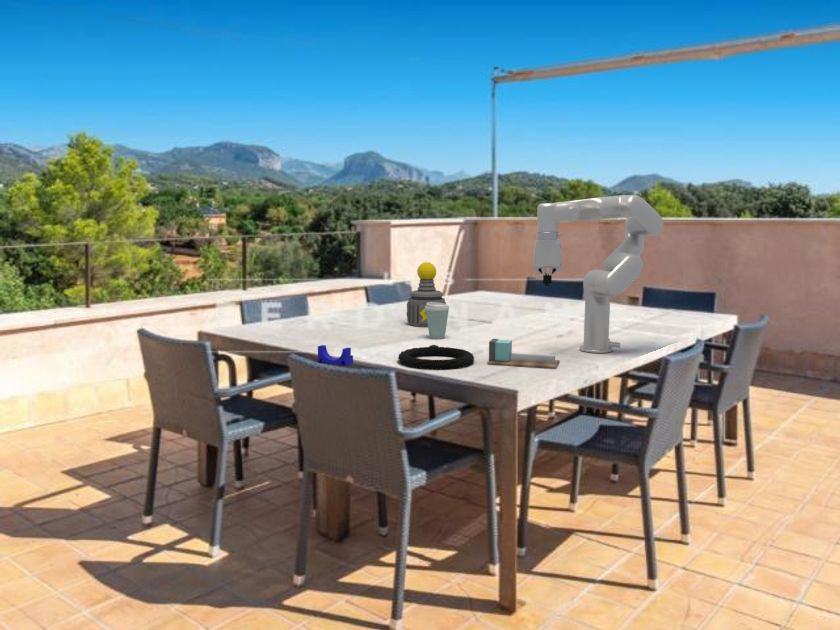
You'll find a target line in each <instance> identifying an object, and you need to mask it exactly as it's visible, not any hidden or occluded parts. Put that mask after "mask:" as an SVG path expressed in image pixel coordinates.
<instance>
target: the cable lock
mask: <svg viewBox="0 0 840 630" xmlns="http://www.w3.org/2000/svg"><path fill="white" fill-rule="evenodd" d="M420 357H449V358H451V359H430V358H429V359H426V358H420ZM397 359H398V362H399V363H400V364H401V365H405V367H409V368H413V369H420V370H453V369H462V368H465V367H469V366H471V365H472V364H473V363H474V362H475V356H474V354H473V352H472V353H471V352H470V351H468V350H466V349H462V348H457V347H456V348H455V347H447V346H445V347H444V346H439V345H437V344H432V345H429V346H421V347H413V348H410V349H409V348H408V349H405V350H402V351H401V352H400V353H399V354H398V357H397Z"/></svg>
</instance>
